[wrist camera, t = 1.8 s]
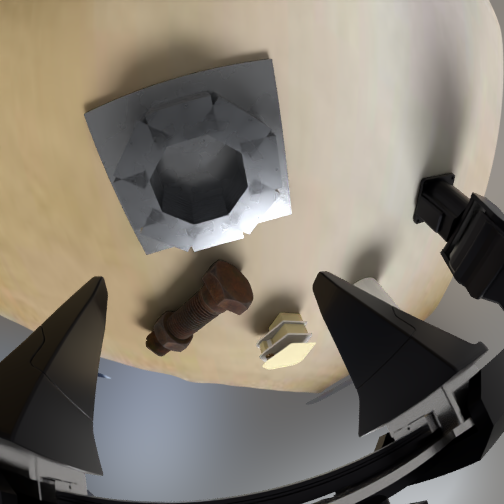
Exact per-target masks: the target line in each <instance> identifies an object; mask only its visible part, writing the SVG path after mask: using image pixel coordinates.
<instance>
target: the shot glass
mask: <svg viewBox="0 0 504 504" xmlns="http://www.w3.org/2000/svg"><path fill="white" fill-rule="evenodd" d="M353 285H354V286H356V287H358V288H360V289H362V290H364V291H366V292H368V293H369V294H371V295H373V296H375V297H377V298H379V299H381V300H383V301H384V302H386V303H388V304H390V305H391V306H394V307H396V308H398V309H400V308H399V307H398V306H397V305H396V303H395V302H394V301H393V300H392V299H391V297H390V296H389V295H388V294H387V293H386V291H385V290H384V289H383V288H382V287H381V285H380V284H379V283H378V282H377V281H376V280H375V279H374V278H370V277H368V278H364V279H361V280H359V281H358V282H356V283H354V284H353Z"/></svg>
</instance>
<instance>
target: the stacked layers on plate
mask: <svg viewBox="0 0 504 504" xmlns="http://www.w3.org/2000/svg"><path fill="white" fill-rule="evenodd" d="M306 324H307V321H303V320H302V318H301V315H300V314H296V313H279V315H278V316H277V317H276V319H275V320H274V321H273V323H272V324H271V326H270V327H269V332H268V333H267V334H266V335H264V336H263V337H262V338H261V339H260V340H259V341H258V342H257V343H256V346H257V347H258V348H260V350H261V353H262V354H261V355H260V356H259V357H260V359H262V360H263V361H264V362H265V363H264V365H263V367H264V368H266V369H275V368H281V367H286V366H291V365H295V364H297V363H299V362H301V361H302V360H303V359H304V357H305V356H306V355H307V354H308V352H309V351H310V350H311V349H312V347H313V346H314V345H315V343H307V342H308V341H309V339H310V338H311V337H312V333H308V332H307V330H306V327H305V326H306Z"/></svg>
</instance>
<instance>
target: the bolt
mask: <svg viewBox="0 0 504 504" xmlns="http://www.w3.org/2000/svg"><path fill="white" fill-rule="evenodd" d="M202 280H203V282H204V283H205V285H204V286H203V287H202V289H201V290H200V291H198V292H197V293H196V294H195V295H194V296H193V297H191V299H189V300H188V301H187V302H186V303H185V304H184V305H182V306H181V307H180V308H179V309H178V310H177V311H176V312H170V311H167V312H165V313H164V314H163V315H162V316H161V317H160V318H159V320H158V321H157V322H156V323H155V325H154V326H153V328H154V331H153V332H151V333H150V334H149V335H148V336H147V338H146V340H147V341H146V347H147V348H148V349H149V350H151V351H152V352H154V353H155V354H157V355H158V356H163V355H165V354H166V353H168V352H169V351H171V350H172V351H178V352H181V351H183V350H184V349H186V348H187V346H188V345H189V344H190V342H191V340H192V338H193V334H194V333H195V332H197V331H198V330H199V329H201V328H202V327H203V326H205V325H206V324H207V323H208V322H210V321H211V320H213V319H214V318H215V317H217V316H218V315H219V314H221V313H223V312H225V311H226V310H229V311H231V312H233V313H235V314H238V315H240V314H242V313H243V312H245V311H246V310H247V309H248V308H249V306H250V305H251V303H252V301H253V293H252V289H251V286H250V284H249V282H248V280H247V279H246V278H245V276H244V275H243V274H242V273H241V272H240V271H239V270H238V269H237V268H236V267H234V266H233V265H231V264H230V263H228V262H225V261H220V260H218V261H217V262H215V263H214V264H213V265H212V266H211V267H210V268H209V270H208V271H207V272H206V274H205V275H204V276H203V278H202Z"/></svg>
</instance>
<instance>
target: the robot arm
mask: <svg viewBox="0 0 504 504" xmlns="http://www.w3.org/2000/svg"><path fill="white" fill-rule="evenodd" d="M454 178H455V175H454V174H453V173H449V174H444V175H439V176H434V177H429V178H424V179H423V180H422V181H421V186H420V192H419V197H418V202H417V207H416V211H415V216H414V220H413V221H414V222H415V223H416V224H418V223H421V222H425V223H426V224H427V225H428V226H429V227H430V228H431V229H432V230H433V231H434V232H436V233H438V234H439V235H440V236H441V237H442V238H443V239H444V240H445V241H446V242H447V244H446V245H445V247H444V249H442V251H441V252H440V253H441V255H442V257H443V259H444V261H445V262H446V264H447V266H448V267H449V269H450V271H451V272H452V274H453V276H454V278H455V279H456V281H458V283H459V284H462V285H463V286H465V287H466V289H467V291H468V292H469V294H470V295H471V297H473V298H475V299H480V298H482V299H485V300H488V301H491V302H494V303H497V304H499V305H500V307H501V308H502V309H503V311H504V214H503V213H502V212H501V210H500V209H499V208H498V207H497V206H496V205H495V204H493V203H492V202H491V201H489V200H488V199H487V198H485V197H483V196H481V195H478V194H476V193H474V192H472V195H471V198H470V199H469V198H468V197H467V196H465V195H464V194H463V193H462V192H461V191H459V190H458V189H457V188H455V187H454V186H453V183H454ZM313 292H314V295H315V298H316V300H317V303H318V306H319V309H320V312H321V314H322V317H323V319H324V321H325V323H326V325H327V327H328V329H329V331H330V334H331V336H332V338H333V340H334V342H335V344H336V346H337V348H338V350H339V353H340V355H341V357H342V359H343V361H344V363H345V365H346V368H347V370H348V372H349V374H350V376H351V379H352V381H353V383H354V385H355V388H356V389H357V392H358V395H359V432H358V434H359V437H362V436H365V435H367V434H369V433H371V432H373V431H376V430H378V429H380V428H382V427H384V426H386V425H387V428H388V430H389V433H387V434H385V435H383V436H381V437H379V440H378V443H377V445H376V448H375V451H374V452H373V453H371V454H369V455H366V456H364V457H362V458H360V459H358V460H356V461H353V462H351V463H349V464H346V465H344V466H341V467H339V468H336V469H334V470H331V471H329V472H326V473H323V474H320V475H317V476H314V477H311V478H308V479H305V480H302V481H299V482H295V483H292V484H288V485H284V486H281V487H277V488H273V489H268V490H264V491H260V492H255V493H250V494H244V495H238V496H232V497H226V498H217V499H209V500H197V501H179V502H146V501H128V500H117V499H109V498H101V497H95V496H94V495H93V494H91V493H90V492H89V491H88V490H87V487H86V479H85V473H87V474H93V475H101V476H103V471H102V468H101V464H100V460H99V456H98V452H97V448H96V444H95V439H94V434H93V414H94V402H95V392H96V383H97V375H98V368H99V361H100V354H101V348H102V343H103V337H104V332H105V324H106V311H107V300H108V292H107V288H106V284H105V280H104V278H103V277H102V276H95V277H93V278H92V279H90V280H89V281H88V282H87V283H86V284H85V285H84V286H82V287H81V288H80V289H79V290H78V291H77V292H76V293H75V294H73V295H72V296H71V297H70V298H69V299H68V300H67V301H66V302H65V303H64V304H63V305H61V306H60V307H59V308H58V309H57V310H56V311H55V312H54V313H53V314H52V315H51V316H50V317H49V318H48V319H47V320H46V321H45V322H44V323H43V324H42V325H41V326H39V327H38V328H37V329H36V330H35V331H34V332H33V333H32V334H31V335H30V336H29V337H28V338H27V339H26V340H25V341H24V342H22V343H21V345H19V346H18V347H17V348H16V349H15V350H13V351H12V352H11V353H10V354H9V355H8V356H7V357H6V358H4V359H3V360H2V361H1V362H0V504H302V503H305V502H308V501H311V500H314V499H317V498H320V497H322V496H325V495H327V494H330V493H333V492H336V495H334V497H332V498H327V499H323V500H320V501H318V502H316V503H313V504H390V502H389V500H388V498H389V497H391V496H393V495H394V494H396V493H397V492H399V491H401V490H402V489H404V488H405V487H407V486H409V485H413V484H417V483H420V482H424V481H427V480H430V479H433V478H437V477H439V476H442V475H445V474H448V473H451V472H453V471H456V470H458V469H461V468H464V467H466V466H468V465H471V464H473V463H475V462H477V461H480V460H481V459H482V458H483V456H484V455H485V454H486V453H487V452H488V451H489V449H490V448H491V447H492V446H493V445H494V443H495V442H496V441H497V440H498V438H499V437H500V436H501V434H502V433H503V432H504V349H503V350H502V351H501V352H500V353H499V354H498V355H497V356H496V357H495V358H493V359H492V360H491V361H490V362H489V363H488V364H487V365H485V367H483V368H482V369H481V370H480V371H479V370H478V368H477V366H476V364H475V363H476V362H477V361H478V360H479V359H480V358H481V357H482V356H483V355H484V354H485V353H486V352H487V351H488V348H487V347H486V346H485V345H484V344H483V343H482V342H478V343H477V344H471V343H468V342H467V341H464V340H462V339H460V338H458V337H456V336H454V335H452V334H450V333H448V332H445V331H443V330H441V329H439V328H437V327H435V326H433V325H430V324H428V323H426V322H424V321H422V320H420V319H418V318H416V317H414V316H412V315H410V314H408V313H406V312H404V311H402V310H400V309H398V308H396V307H394V306H391V305H390V304H388V303H386V302H384V301H383V300H381V299H379V298H377V297H375V296H373V295H371V294H369V293H368V292H366V291H364V290H362V289H360V288H358V287H356V286H354V285H352V284H351V283H349V282H347V281H345V280H343V279H341V278H339V277H337V276H335V275H333V274H331V273H330V272H327V271H322V272H319V273H318V274H317V277H316V279H315V281H314V283H313ZM411 504H428V502H427V501H421V502H416V503H411Z"/></svg>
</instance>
